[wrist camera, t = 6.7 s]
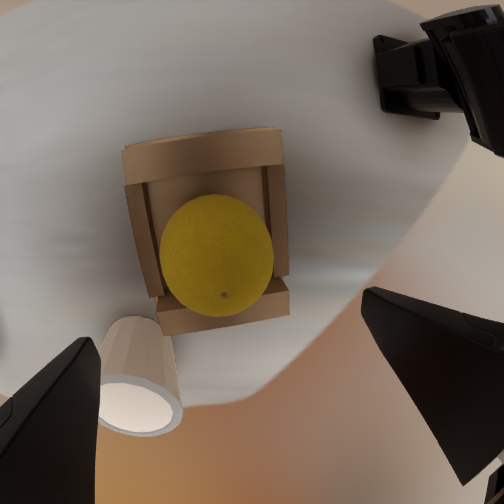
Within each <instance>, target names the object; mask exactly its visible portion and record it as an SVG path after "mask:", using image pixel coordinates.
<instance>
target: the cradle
mask: <svg viewBox="0 0 504 504" xmlns="http://www.w3.org/2000/svg"><path fill="white" fill-rule="evenodd" d="M122 157H123V164H124V171H125V178H126V184H127V185H126V186H125V192H126V198H127V204H128V209H129V214H130V219H131V224H132V229H133V234H134V238H135V243H136V247H137V251H138V256H139V260H140V264H141V268H142V272H143V276H144V280H145V283H146V287H147V291H148V294H149V298H151V297H155V300H156V304H157V308H156V315H157V318H158V321H159V325H160V328H161V331H162V334H163V336H169V335H176V334H183V333H190V332H197V331H203V330H209V329H216V328H222V327H228V326H233V325H239V324H244V323H250V322H255V321H260V320H266V319H271V318H276V317H281V316H285V315H289V289H288V288H287V286H286V285H285V283H284V282H283V276H287V275H289V256H288V229H287V207H286V188H285V170H284V161H283V146H282V132H281V130H274V127H264V128H249V129H237V130H226V131H217V132H208V133H200V134H192V135H185V136H178V137H172V138H166V139H160V140H154V141H149V142H143V143H138V144H133V145H128V146H125V150H122ZM211 194H218V195H227V196H230V197H233V198H236V199H238V200H241V201H242V202H244V203H245V204H247V205H248V206H249V207H251V208H252V209H253V210H254V211H255V212H256V213H257V214H258V215H259V217H260V218H261V219H262V220H263V221H264V223H265V225H266V228H267V230H268V232H269V234H270V237H271V240H272V247H273V254H274V263H273V271H272V276H271V279H270V281H269V283H268V286H267V288H266V290H265V291H264V292H263V294H262V295H261V296H260V298H259V299H258V300H257V301H256V302H255V303H253V304H252V305H251V306H250V307H249V308H247V309H245V310H243V311H241V312H239V313H236V314H233V315H229V316H221V317H213V316H206V315H202V314H200V313H197V312H194V311H192V310H190V309H189V308H187V307H186V306H184V305H183V304H181V303H180V301H179V300H178V299H177V298H176V297H175V296H174V295H173V294H172V292H171V291H170V289H169V287H168V285H167V283H166V281H165V279H164V277H163V274H162V269H161V263H160V258H159V253H160V243H161V237H162V234H163V232H164V229H165V227H166V224H167V222H168V221H169V220H170V218H171V217H172V216H173V214H174V213H175V212H176V210H178V209H179V208H180V207H181V206H183V205H184V204H185V203H187V202H188V201H190V200H193V199H195V198H197V197H200V196H205V195H211Z"/></svg>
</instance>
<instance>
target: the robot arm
mask: <svg viewBox="0 0 504 504" xmlns="http://www.w3.org/2000/svg"><path fill="white" fill-rule="evenodd" d="M420 26H421V28H422V29H423V31H425V32H426V34H427V35H428V37H429V38H427V39H423V40H419V41H416V42H412V43H407V42H404V41H400V40H397V39H394V38H390V37H386V36H383V35H378V36H376V37H374V44H375V51H376V59H377V67H378V76H379V84H380V94H381V106H382V109H383V111H384V112H386V113H392V114H400V115H407V116H414V117H420V118H426V119H432V120H439V119H440V112H454V113H464V115H465V118H466V121H467V124H468V126H469V129H470V136H471V139H472V141H473V142H475V143H477V144H479V145H481V146H483V147H485V148H487V149H489V150H490V151H492V152H494V154H495V155H497V156H499V157H502V158H504V12H503V10H502V8H501V7H500V5H484V6H475V7H469V8H465V9H461V10H457V11H453V12H450V13H447V14H444V15H441V16H438V17H435V18H433V19H430V20H427V21H425V22H422V23H420ZM379 39H380V40H381V42H382V43H381V42H380V40H379ZM387 104H388V105H389V109H388V108H387ZM361 314H362V317H363V319H364V321H365V323H366V324H367V326H368V328H369V330H370V332H371V333H372V336H373V338H374V339H375V342H376V343H377V345H378V347H379V349H380V350H381V352H382V354H383V355H384V357H385V358H386V360H387V361H388V363H389V364H390V366H391V367H392V369H393V370H394V372H395V373H396V375H397V376H398V378H399V380H400V381H401V383H402V384H403V386H404V387H405V389H406V390H407V392H408V394H409V395H410V397H411V398H412V400H413V402H414V403H415V405H416V406H417V408H418V410H419V411H420V413H421V415H422V416H423V418H424V419H425V421H426V423H427V425H428V426H429V428H430V430H431V431H432V433H433V435H434V436H435V438H436V440H438V443H439V445H440V447H441V449H442V450H443V452H444V454H445V455H446V457H447V459H448V461H449V463H450V464H451V466H452V468H453V470H454V471H455V473H456V475H457V477H458V479H459V481H460V483H461V484H462V486H464V485H465V484H467V483H468V482H469V481H471V480H472V479H473V478H474V477H475V476H476V475H478V474H479V473H480V472H481V471H482V470H483V469H484V468H486V467H487V466H488V465H489V464H490V463H491V462H492V461H493V460H494V459H495V458H496V457H498V458H499V459H500V461H501V462H502V463H503V464H502V465H501V466H500V467H499V468H498V469H497V470H496V471H495V472H494V473H493V474H491V475H490V477H489V481H488V486H487V492H486V497H485V502H484V504H504V323H501V322H497V321H492V320H488V319H484V318H480V317H477V316H473V315H469V314H466V313H461V312H459V311H456V310H453V309H449V308H446V307H442V306H439V305H436V304H432V303H429V302H426V301H423V300H419V299H415V298H412V297H409V296H406V295H402V294H399V293H395V292H392V291H389V290H385V289H382V288H378V287H371V288H366V289H365V290H364V291H363V297H362V304H361ZM100 384H101V358H100V355H99V353H98V351H97V349H96V347H95V345H94V343H93V340H92V339H91V338H90V337H80V338H78V339H76V340H75V341H74V342H73V343H72V344H71V345H69V346H68V347H67V348H66V349H65V350H63V351H62V352H61V353H60V354H59V355H58V356H56V357H55V358H54V359H53V360H52V361H51V362H50V363H48V364H47V365H46V366H45V367H44V368H43V369H42V370H40V371H39V372H38V373H37V374H36V375H35V376H34V377H33V378H31V379H30V380H29V381H28V382H27V383H26V384H25V385H24V386H22V387H21V388H20V389H19V390H18V391H17V392H16V393H15V394H14V395H13V397H10V398H9V399H8V400H7V401H6V402H5V403H4V404H3V405H2V406H1V407H0V504H95V456H96V440H97V428H98V417H99V408H100Z"/></svg>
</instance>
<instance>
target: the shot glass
mask: <svg viewBox="0 0 504 504" xmlns="http://www.w3.org/2000/svg"><path fill="white" fill-rule="evenodd" d="M98 353H99V355H100V358H101V384H100V408H99V417H98V422H99V423H100V424H101V425H103V426H105V427H107V428H109V429H112V430H114V431H116V432H119V433H122V434H127V435H132V436H157V435H160V434H163V433H167V432H170V431H171V430H172V429H174V428H175V427H176V426H177V425H179V424H180V421H181V418H182V416H183V408H182V402H181V396H180V390H179V383H178V377H177V370H176V363H175V355H174V347H173V343H172V339H171V336H170V335H169V336H163V334H162V331H161V328H160V325H159V324H158V323H157V322H155V321H153V320H152V319H149V318H144V317H140V316H130V317H123V318H121V319H119V320H117V321H115V322H114V323H113V324H112V325H111V327H110V328H109V330H108V331H107V333H106V335H105V337H104V340H103V342H102V344H101V346H100V348H99V350H98Z"/></svg>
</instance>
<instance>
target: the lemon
mask: <svg viewBox="0 0 504 504" xmlns="http://www.w3.org/2000/svg"><path fill="white" fill-rule="evenodd" d="M159 258H160V263H161V269H162V274H163V277H164V279H165V281H166V283H167V285H168V287H169V289H170V291H171V292H172V294H173V295H174V296H175V297H176V298H177V299H178V300H179V301H180V303H181V304H183V305H184V306H186V307H187V308H189V309H190V310H192V311H194V312H197V313H200V314H202V315H206V316H213V317H221V316H229V315H233V314H236V313H239V312H241V311H243V310H245V309H247V308H249V307H250V306H251V305H252V304H253V303H255V302H256V301H257V300H258V299H259V298H260V296H261V295H262V294H263V292H264V291H265V290H266V288H267V286H268V283H269V281H270V279H271V276H272V271H273V263H274V254H273V247H272V240H271V237H270V234H269V232H268V230H267V228H266V225H265V223H264V221H263V220H262V219H261V218H260V217H259V215H258V214H257V213H256V212H255V211H254V210H253V209H252V208H251V207H249V206H248V205H247V204H245V203H244V202H242V201H241V200H238V199H236V198H233V197H230V196H227V195H218V194H211V195H205V196H200V197H197V198H195V199H193V200H190V201H188V202H187V203H185V204H184V205H183V206H181V207H180V208H179V209H178V210H176V212H175V213H174V214H173V216H172V217H171V218H170V220H169V221H168V222H167V224H166V227H165V229H164V232H163V234H162V237H161V243H160V253H159Z"/></svg>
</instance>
